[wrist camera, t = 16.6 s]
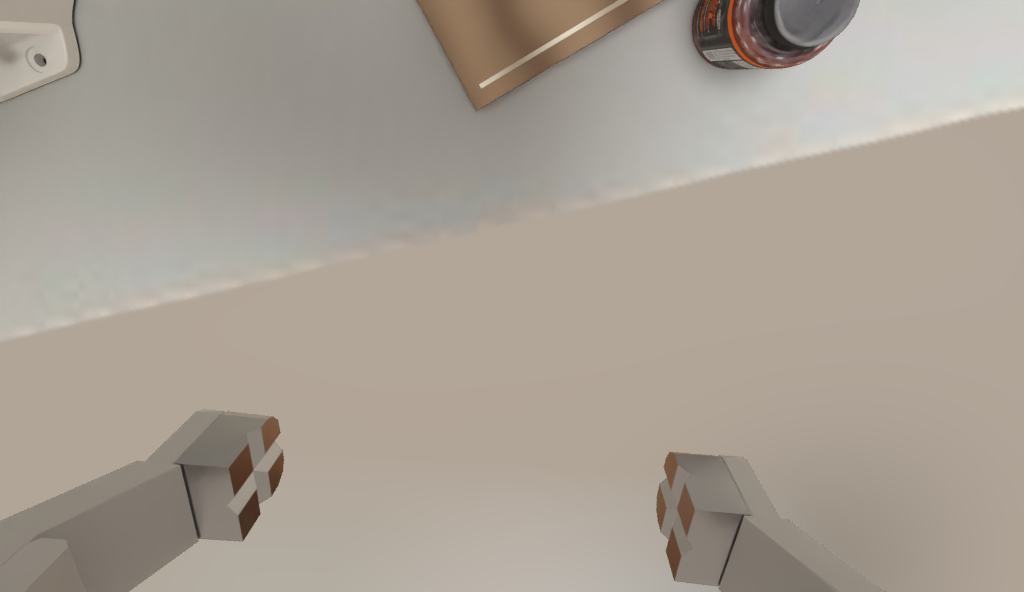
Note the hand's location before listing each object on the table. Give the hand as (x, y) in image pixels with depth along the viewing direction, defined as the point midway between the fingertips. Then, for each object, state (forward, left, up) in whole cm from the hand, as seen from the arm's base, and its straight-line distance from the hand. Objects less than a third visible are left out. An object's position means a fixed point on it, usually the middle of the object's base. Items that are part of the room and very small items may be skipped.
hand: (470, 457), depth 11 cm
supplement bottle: (+18, +2, -31) cm, 36 cm away
